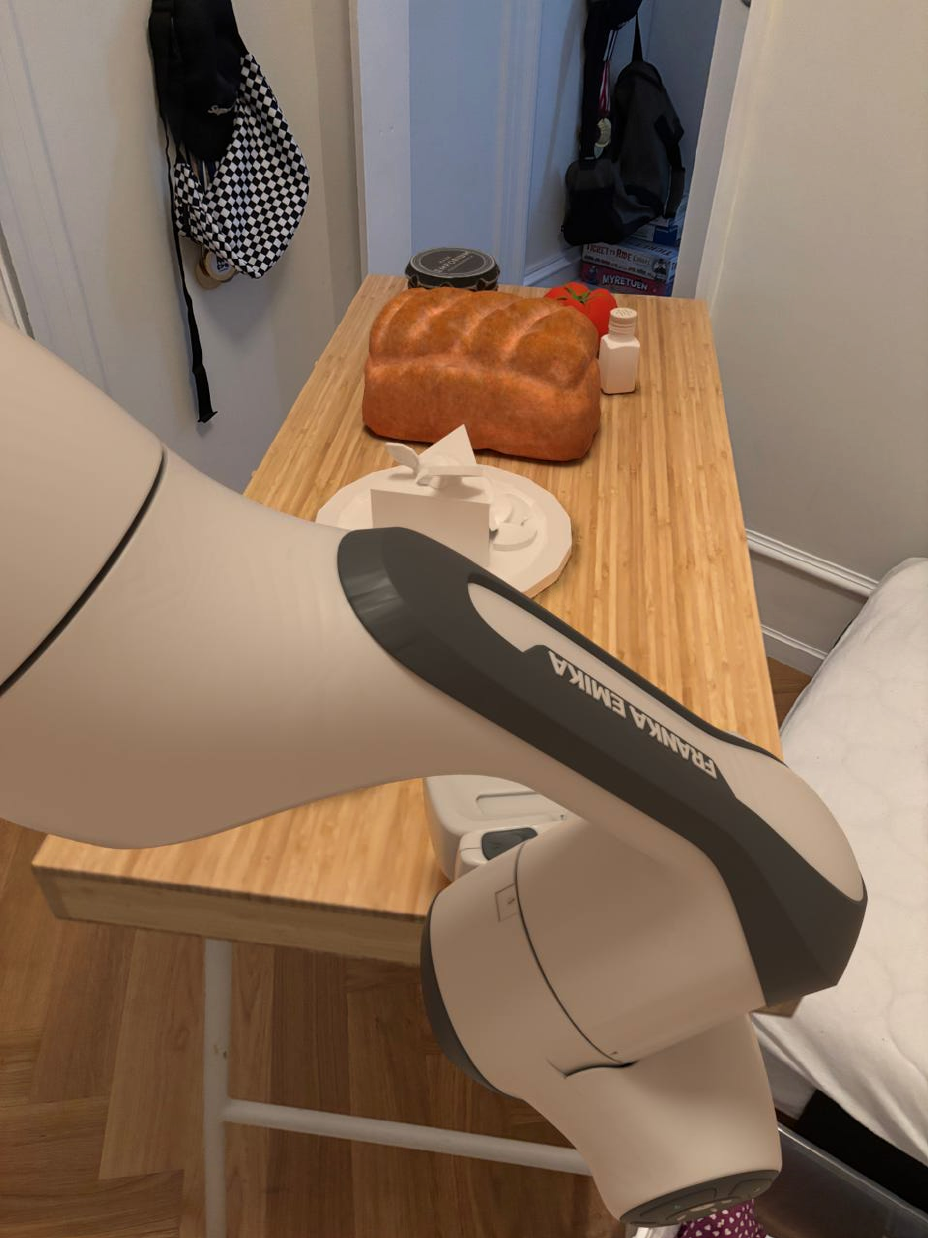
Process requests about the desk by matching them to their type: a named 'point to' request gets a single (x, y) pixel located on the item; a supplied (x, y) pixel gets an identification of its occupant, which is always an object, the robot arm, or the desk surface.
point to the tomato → (587, 304)
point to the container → (453, 269)
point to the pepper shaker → (619, 352)
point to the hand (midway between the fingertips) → (570, 703)
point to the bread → (484, 372)
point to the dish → (462, 511)
